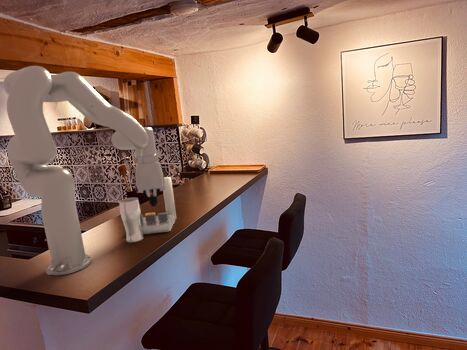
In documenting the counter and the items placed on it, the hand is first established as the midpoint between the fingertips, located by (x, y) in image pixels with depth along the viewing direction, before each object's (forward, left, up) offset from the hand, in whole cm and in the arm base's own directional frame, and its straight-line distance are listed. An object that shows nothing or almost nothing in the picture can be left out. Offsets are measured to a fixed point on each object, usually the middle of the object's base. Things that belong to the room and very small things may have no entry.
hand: (154, 205), depth 134 cm
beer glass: (-11, +6, -9) cm, 16 cm away
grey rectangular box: (-1, -3, -6) cm, 7 cm away
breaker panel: (0, +2, -9) cm, 9 cm away
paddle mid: (-1, +2, -6) cm, 7 cm away
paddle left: (-1, +7, -6) cm, 9 cm away
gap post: (+10, -4, -9) cm, 14 cm away
